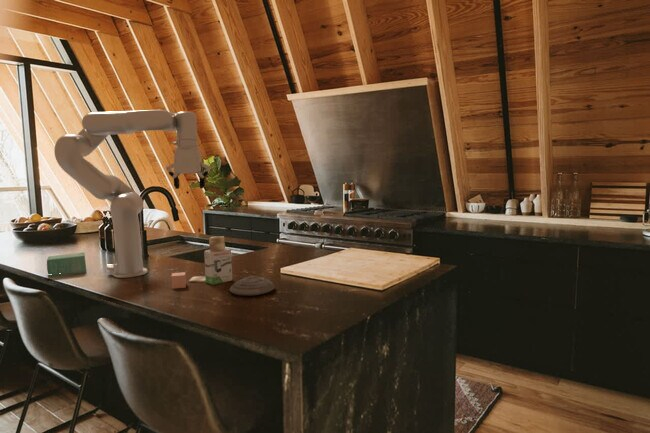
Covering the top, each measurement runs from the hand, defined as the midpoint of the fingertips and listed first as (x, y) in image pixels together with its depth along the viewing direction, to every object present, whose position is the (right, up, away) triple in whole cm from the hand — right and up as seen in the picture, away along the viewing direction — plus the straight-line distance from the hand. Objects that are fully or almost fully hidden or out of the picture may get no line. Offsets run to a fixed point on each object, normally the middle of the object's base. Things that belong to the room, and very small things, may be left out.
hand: (189, 188), depth 184 cm
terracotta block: (+2, -36, -19) cm, 41 cm away
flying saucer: (+29, -37, -28) cm, 54 cm away
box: (-51, -34, +5) cm, 61 cm away
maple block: (+14, -23, -15) cm, 31 cm away
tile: (+7, -35, -11) cm, 37 cm away
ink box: (+15, -35, -14) cm, 40 cm away
